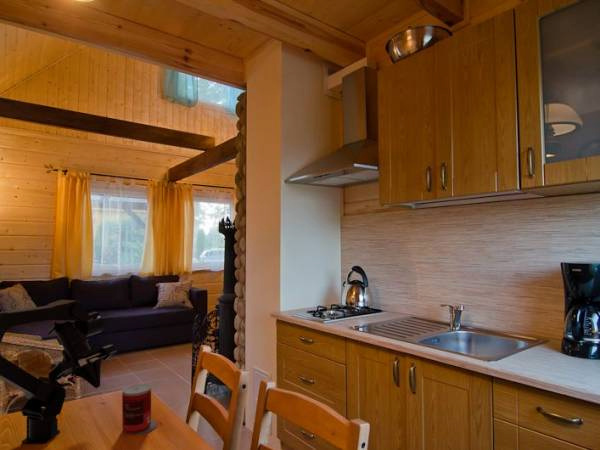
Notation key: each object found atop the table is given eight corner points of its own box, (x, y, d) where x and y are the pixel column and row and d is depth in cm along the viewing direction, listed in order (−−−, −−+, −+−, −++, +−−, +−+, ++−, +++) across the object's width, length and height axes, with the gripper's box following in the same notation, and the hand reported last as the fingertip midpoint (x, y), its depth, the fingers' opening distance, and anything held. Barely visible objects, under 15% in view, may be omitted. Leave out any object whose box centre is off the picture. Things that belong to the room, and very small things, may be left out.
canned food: (145, 418, 115) (145, 381, 116) (155, 427, 109) (155, 388, 110) (118, 427, 110) (118, 388, 110) (127, 437, 104) (127, 395, 104)
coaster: (122, 434, 106) (122, 433, 106) (136, 420, 114) (136, 420, 114) (150, 434, 106) (150, 434, 106) (162, 421, 113) (162, 420, 114)
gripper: (83, 346, 123) (106, 388, 120) (26, 366, 106) (51, 416, 103) (105, 327, 121) (129, 370, 117) (49, 344, 103) (76, 395, 100)
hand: (98, 387), depth 109 cm, fingers closed
